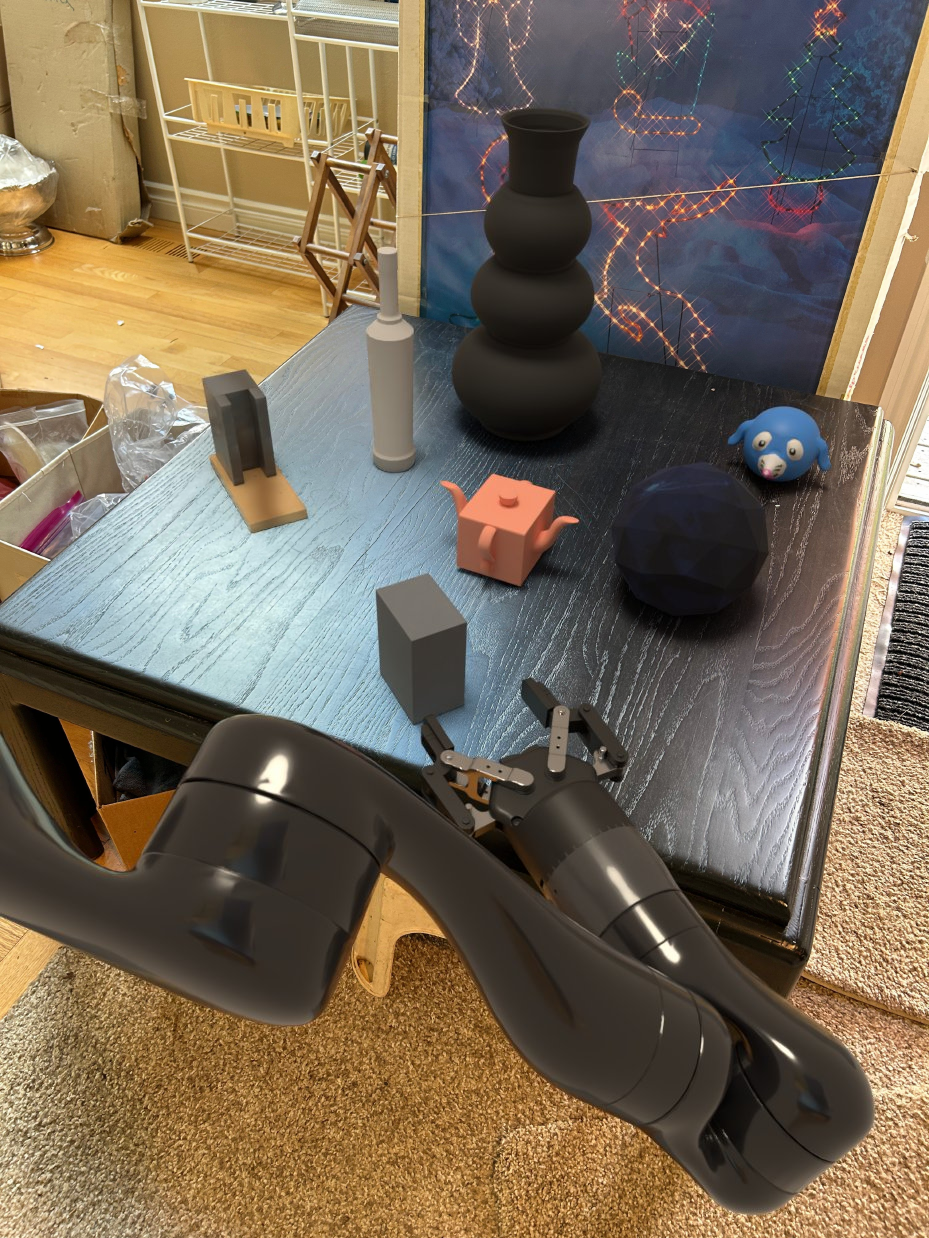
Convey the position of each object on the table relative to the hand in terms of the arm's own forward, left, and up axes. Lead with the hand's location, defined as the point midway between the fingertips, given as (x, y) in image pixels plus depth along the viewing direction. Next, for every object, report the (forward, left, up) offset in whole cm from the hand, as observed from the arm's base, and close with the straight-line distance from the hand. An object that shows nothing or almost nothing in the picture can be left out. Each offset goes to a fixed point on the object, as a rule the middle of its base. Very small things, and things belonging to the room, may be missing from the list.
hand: (476, 703), depth 69 cm
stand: (-13, +45, -8) cm, 47 cm away
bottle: (+4, +47, -8) cm, 48 cm away
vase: (+22, +52, -8) cm, 57 cm away
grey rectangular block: (-2, +10, -8) cm, 13 cm away
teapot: (+11, +26, -8) cm, 29 cm away
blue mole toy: (+46, +32, -8) cm, 56 cm away
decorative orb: (+26, +16, -8) cm, 31 cm away
